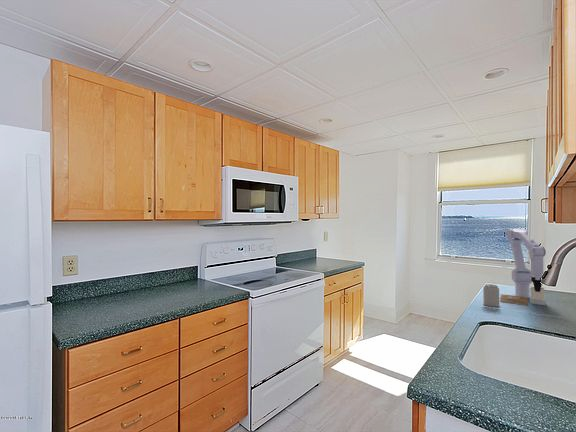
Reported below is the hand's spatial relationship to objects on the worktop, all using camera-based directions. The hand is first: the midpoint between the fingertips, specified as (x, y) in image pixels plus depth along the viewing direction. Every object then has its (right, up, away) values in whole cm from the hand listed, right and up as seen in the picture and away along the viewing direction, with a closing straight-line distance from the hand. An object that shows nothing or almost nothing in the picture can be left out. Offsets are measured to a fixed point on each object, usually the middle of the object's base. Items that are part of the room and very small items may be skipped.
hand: (537, 290), depth 178 cm
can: (-30, -8, -5) cm, 32 cm away
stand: (0, -8, 0) cm, 8 cm away
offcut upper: (-12, -6, +2) cm, 14 cm away
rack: (-11, -8, +4) cm, 14 cm away
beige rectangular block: (0, -7, 0) cm, 7 cm away
